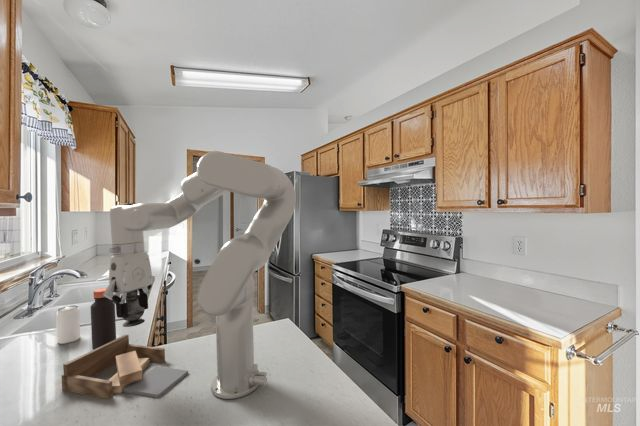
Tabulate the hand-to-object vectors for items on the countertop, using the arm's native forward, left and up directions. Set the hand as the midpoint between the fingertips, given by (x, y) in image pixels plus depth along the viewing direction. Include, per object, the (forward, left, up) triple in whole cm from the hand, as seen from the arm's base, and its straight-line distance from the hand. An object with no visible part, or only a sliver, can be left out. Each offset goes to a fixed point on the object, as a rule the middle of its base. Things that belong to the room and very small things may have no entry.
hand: (133, 312), depth 82 cm
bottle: (+27, -13, -19) cm, 35 cm away
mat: (-8, 0, -19) cm, 20 cm away
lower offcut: (+2, 0, -19) cm, 20 cm away
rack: (+7, 0, -19) cm, 20 cm away
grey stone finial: (0, 0, -3) cm, 3 cm away
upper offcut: (+2, 0, -17) cm, 17 cm away
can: (+45, -14, -19) cm, 51 cm away
